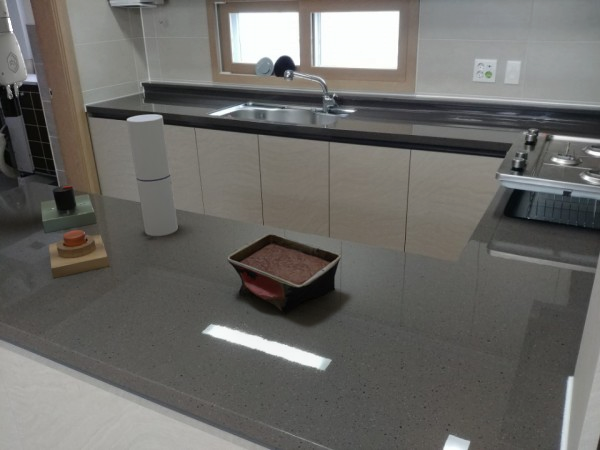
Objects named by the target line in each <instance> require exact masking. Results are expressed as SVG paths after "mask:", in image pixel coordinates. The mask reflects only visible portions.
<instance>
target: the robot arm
mask: <svg viewBox="0 0 600 450" xmlns="http://www.w3.org/2000/svg"><path fill="white" fill-rule="evenodd" d="M27 79H28V70H27V67H26V63H25V59H24V55H23V53H22V50H21V47H20V44H19V41H18V38H17V36H16V33H14V30H13V26H12V21H11V17H10V11H9V8H8V3H7V0H0V106H1V110H2V113H3V117H4V118H18V117H20V116H22V115H23V114H22V110H21V109H22V108H21V104H20V101H19V96H20V94H19V93H20V92H19V88H20V87H22V86H23V82H25V81H26V80H27Z"/></svg>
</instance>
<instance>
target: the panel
mask: <svg viewBox="0 0 600 450" xmlns="http://www.w3.org/2000/svg"><path fill="white" fill-rule="evenodd" d="M74 196H75V200H76V206H75V207H73V208H70V209H66V210H59V209H57V208H56V203H55V199H51V200H45V201H44V200H43V201H40V208H41V221H42V225H43V229H44V230H43V231H44V234H49V233H53V232H54V233H55V232H59V231H64V230H68V229H69V230H70V229H74V228H81V227H85V226H90V225H94V224H95V225H96V224H97V219H96V213H95V210H94V207H93V203H92V201H91V198H90V195H89V194H88V193H87V194H79V195H74Z"/></svg>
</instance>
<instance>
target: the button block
mask: <svg viewBox="0 0 600 450" xmlns="http://www.w3.org/2000/svg"><path fill="white" fill-rule="evenodd" d="M85 237H86V243H85V244H82V245H80V246H75V247H66V246H65V244H64V240H63V238H62V239H60V240H59V241H58V242H54V243H49V244H48V250H49V259H50V260H49V261H50V268H51V273H52V277H53V279H57V278H61V277H66V276H67V277H68V276H72V275H76V274H81V273H85V272H89V271H94V270H98V269H103V268H107V267H108V268H109V267H110V262H109V258H108V257H109V256H108V254H107V251H106V248H105V244H104V241H103V239H102V236H101V234H100V233H99V234H95V235H91V234H85Z"/></svg>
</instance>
